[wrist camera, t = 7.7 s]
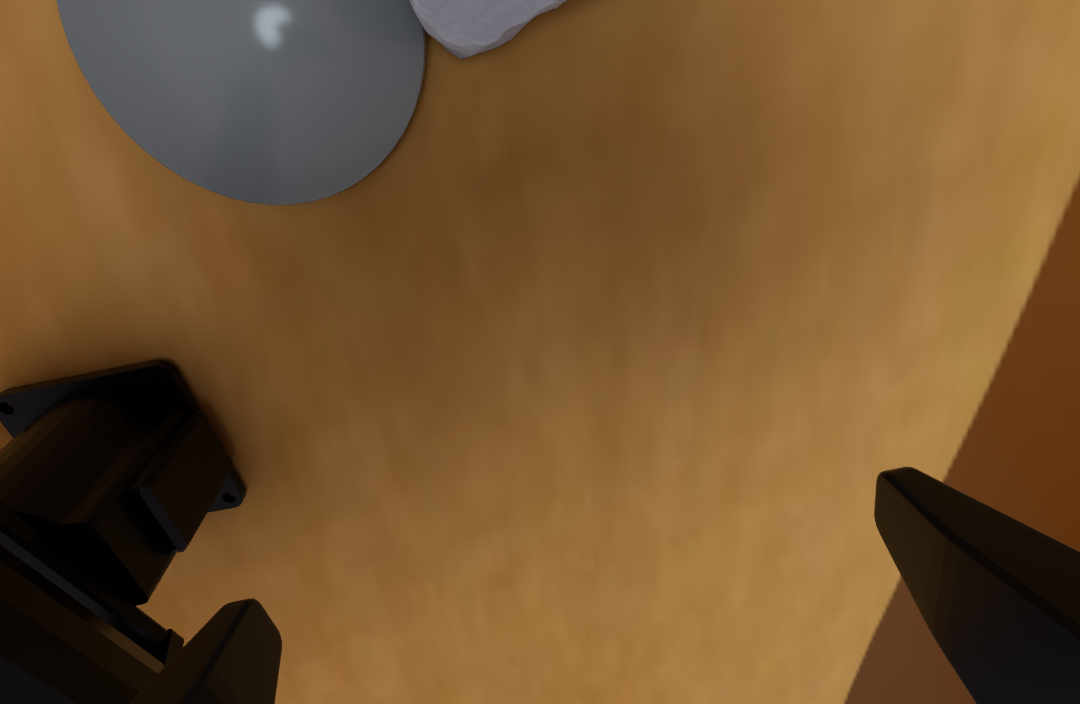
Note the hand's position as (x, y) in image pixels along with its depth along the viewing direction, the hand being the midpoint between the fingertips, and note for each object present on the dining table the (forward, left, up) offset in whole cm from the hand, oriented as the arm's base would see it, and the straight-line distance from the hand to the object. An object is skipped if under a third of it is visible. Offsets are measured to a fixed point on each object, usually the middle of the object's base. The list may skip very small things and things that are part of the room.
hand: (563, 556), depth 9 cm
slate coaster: (-6, +7, -13) cm, 16 cm away
